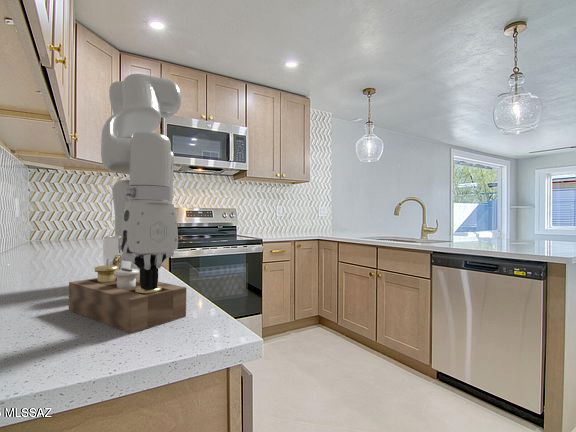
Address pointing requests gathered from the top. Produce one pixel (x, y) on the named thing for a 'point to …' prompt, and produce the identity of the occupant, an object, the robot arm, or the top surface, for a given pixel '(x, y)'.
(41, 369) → the top surface
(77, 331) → the top surface
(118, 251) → the beer glass
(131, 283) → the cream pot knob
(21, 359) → the top surface
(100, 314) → the block
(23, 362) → the top surface
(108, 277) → the brass knob
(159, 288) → the brass knob
